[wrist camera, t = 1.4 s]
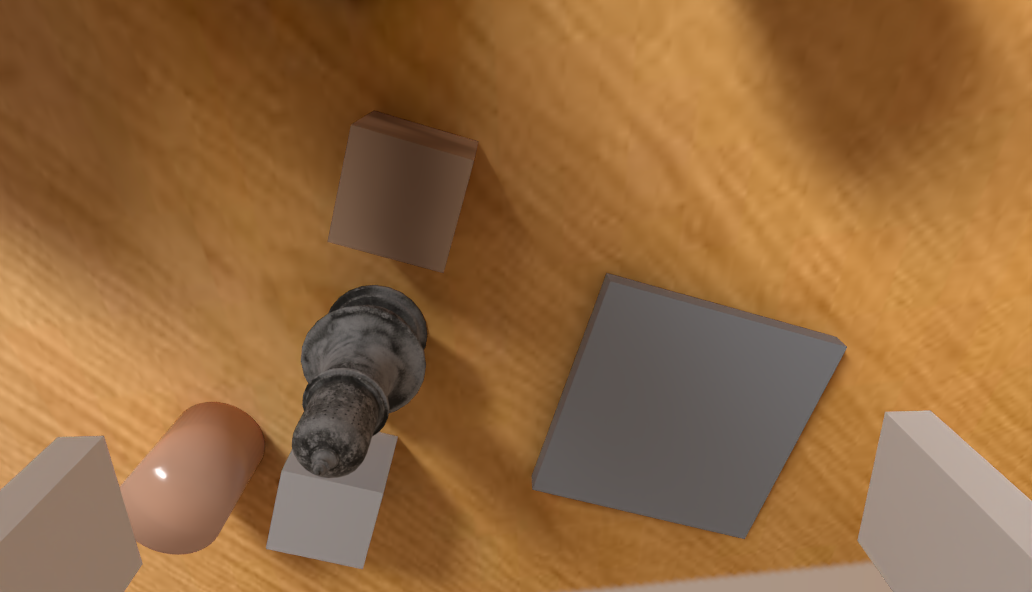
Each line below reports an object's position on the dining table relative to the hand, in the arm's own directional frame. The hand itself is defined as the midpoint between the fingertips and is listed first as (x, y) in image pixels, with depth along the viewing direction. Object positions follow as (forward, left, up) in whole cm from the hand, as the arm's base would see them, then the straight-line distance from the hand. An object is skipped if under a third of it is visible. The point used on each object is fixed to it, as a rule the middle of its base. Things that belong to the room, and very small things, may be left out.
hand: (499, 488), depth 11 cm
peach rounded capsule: (-11, -18, -22) cm, 31 cm away
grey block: (-4, -17, -22) cm, 29 cm away
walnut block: (-4, 0, -22) cm, 23 cm away
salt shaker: (-4, -9, -22) cm, 25 cm away
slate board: (+13, -9, -22) cm, 27 cm away
